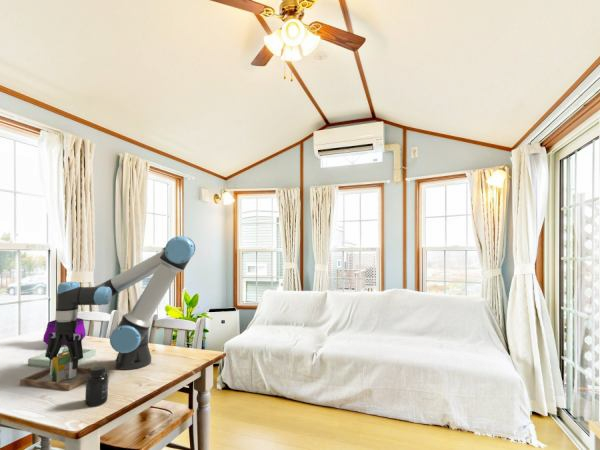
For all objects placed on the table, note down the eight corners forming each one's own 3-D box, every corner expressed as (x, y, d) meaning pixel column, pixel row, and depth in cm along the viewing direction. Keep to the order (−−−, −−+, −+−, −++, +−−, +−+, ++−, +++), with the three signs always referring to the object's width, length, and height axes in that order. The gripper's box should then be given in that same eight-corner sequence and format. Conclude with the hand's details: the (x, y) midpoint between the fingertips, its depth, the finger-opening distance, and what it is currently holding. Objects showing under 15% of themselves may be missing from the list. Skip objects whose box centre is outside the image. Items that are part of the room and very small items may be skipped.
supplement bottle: (102, 396, 122) (104, 363, 123) (110, 402, 118) (112, 367, 119) (81, 402, 117) (83, 368, 118) (88, 409, 113) (90, 373, 113)
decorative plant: (54, 340, 188) (58, 286, 189) (90, 339, 191) (93, 286, 193) (34, 350, 169) (38, 291, 171) (75, 349, 172) (78, 291, 174)
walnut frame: (102, 374, 142) (102, 369, 142) (69, 390, 126) (69, 385, 126) (57, 369, 146) (57, 364, 146) (19, 384, 130) (20, 379, 130)
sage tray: (95, 355, 164) (95, 349, 164) (63, 369, 146) (63, 362, 146) (63, 352, 168) (63, 346, 168) (27, 365, 149) (28, 358, 150)
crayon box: (68, 375, 140) (70, 347, 141) (74, 376, 139) (75, 348, 140) (50, 382, 133) (52, 352, 134) (56, 383, 132) (58, 353, 133)
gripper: (95, 319, 139) (92, 374, 138) (52, 316, 143) (49, 370, 142) (81, 323, 132) (77, 382, 131) (36, 320, 136) (32, 377, 134)
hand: (62, 375), depth 136 cm, fingers open, 8 cm apart
